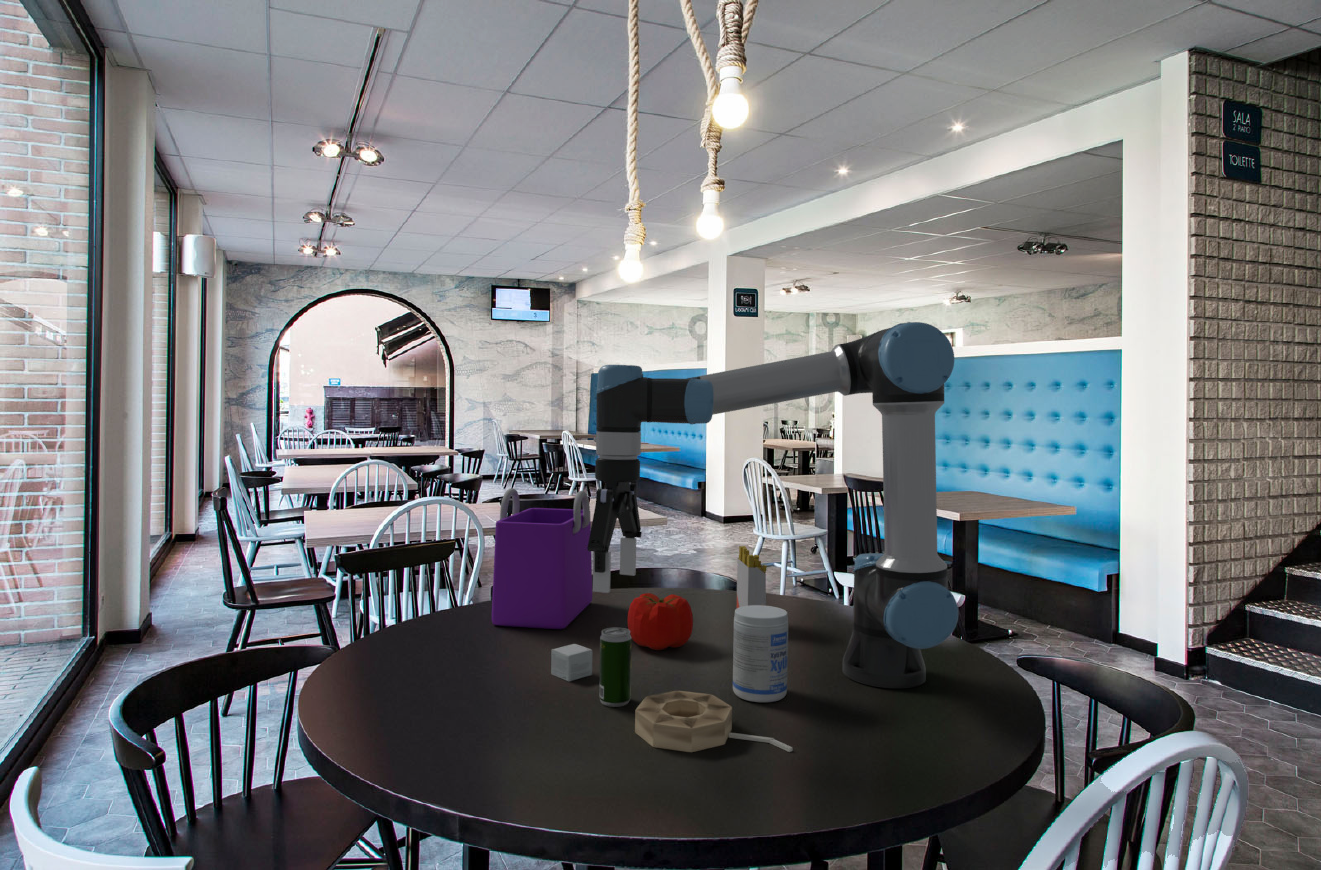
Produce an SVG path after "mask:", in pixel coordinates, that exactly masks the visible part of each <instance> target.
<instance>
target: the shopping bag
mask: <svg viewBox="0 0 1321 870" xmlns="http://www.w3.org/2000/svg"><path fill="white" fill-rule="evenodd" d="M502 496H503V497H502V499H501V504H500V510H499V511H500V512H499V520H497V521H496V522H495V532H494V533H495V535H494V552H493V555H494V557H493V559H494V560H493V576H492V577H493V579H492V581H493V582H492V598H491V599H492V602H491V622H492V624H493V625H495V626H499V627H513V628H516V627H517V628H532V629H547V630H563V629H565V628H567V627H568V626H569V625H570V624H571V622H573V621H574V619H576V617H578V615H580V613H582V612H583V611H584V610H585V609H586V608H587V607H588V606H589V605H590V604H591V602H592V601H593V559H592V551H588V549H587V547H588V543H589V537H590V532H591V526H592V523H591V522H592V521H591V509H590V500H589V497H588V494H587V492H586V491H584V490H579V491H577V493H576V494H575V497H574V500H573V508H572V509H571V508H547V507H546V508H545V507H530V508H527V509H524V510H522V511H520V505H521V504H520V495H519V492H518V490H517V489H515V488H508V489H507V490H506V491H505V492H504V493H503V495H502ZM511 497H512V515H509V516H508V509H509V503H510V500H511Z"/></svg>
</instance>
